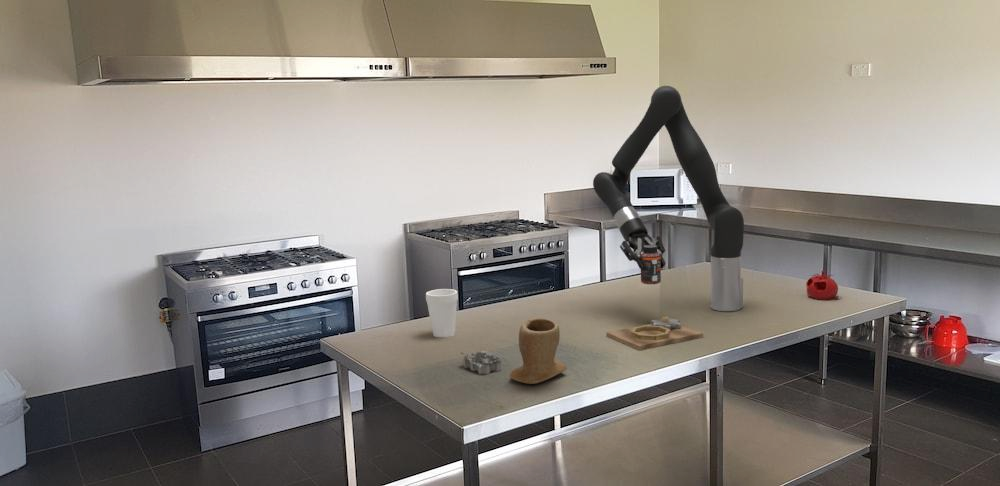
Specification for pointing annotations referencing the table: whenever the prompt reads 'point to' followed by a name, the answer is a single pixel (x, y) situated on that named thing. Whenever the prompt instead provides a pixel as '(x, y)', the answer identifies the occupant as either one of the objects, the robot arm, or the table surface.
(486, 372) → the egg carton
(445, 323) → the foam cup
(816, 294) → the pomegranate
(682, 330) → the board
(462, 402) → the table surface
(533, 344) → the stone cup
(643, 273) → the supplement bottle
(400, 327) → the table surface
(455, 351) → the table surface
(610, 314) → the table surface
